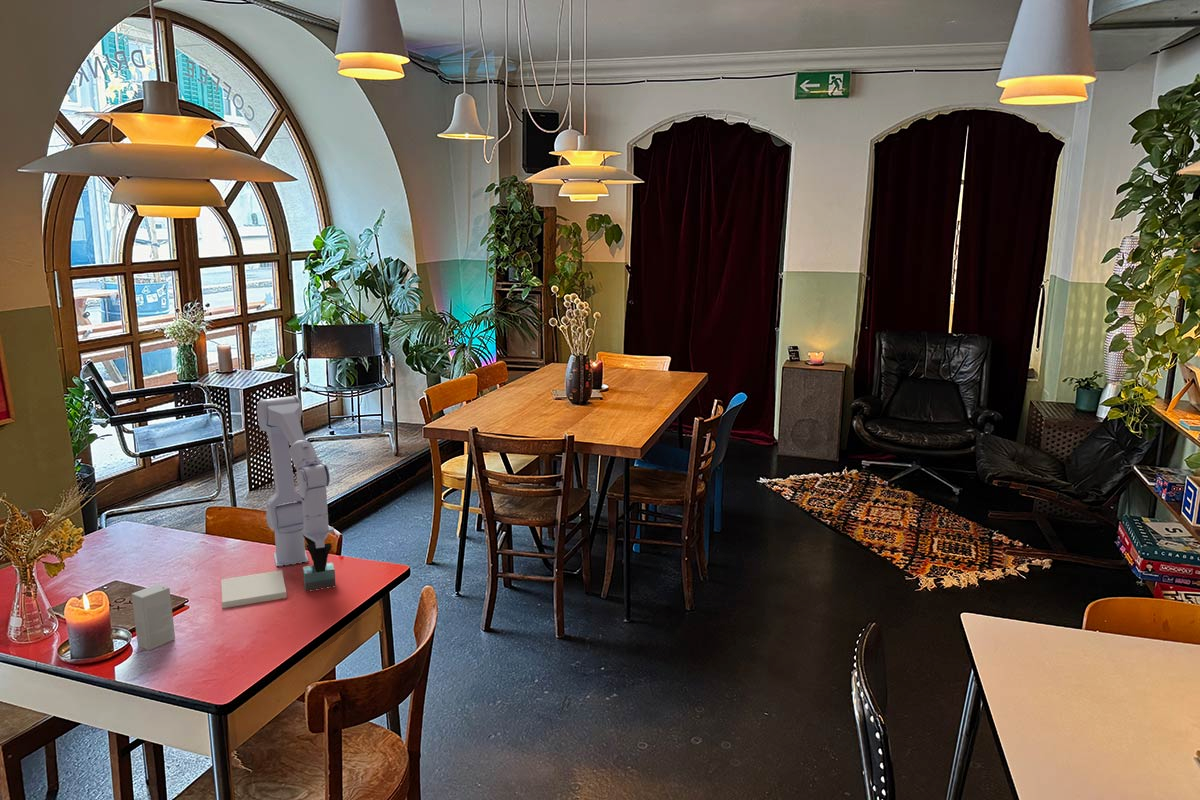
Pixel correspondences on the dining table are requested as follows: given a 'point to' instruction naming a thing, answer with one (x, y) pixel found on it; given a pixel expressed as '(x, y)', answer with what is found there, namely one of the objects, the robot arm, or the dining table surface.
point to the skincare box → (153, 616)
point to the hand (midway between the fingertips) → (318, 565)
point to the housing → (318, 577)
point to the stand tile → (253, 589)
